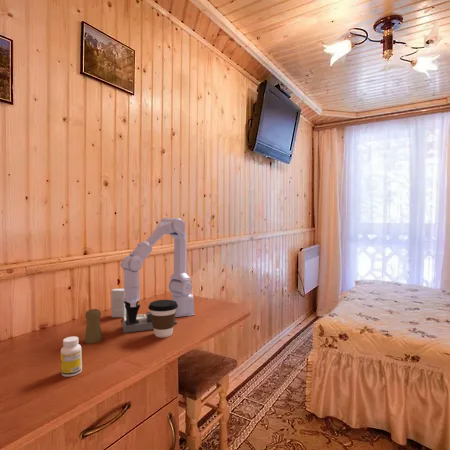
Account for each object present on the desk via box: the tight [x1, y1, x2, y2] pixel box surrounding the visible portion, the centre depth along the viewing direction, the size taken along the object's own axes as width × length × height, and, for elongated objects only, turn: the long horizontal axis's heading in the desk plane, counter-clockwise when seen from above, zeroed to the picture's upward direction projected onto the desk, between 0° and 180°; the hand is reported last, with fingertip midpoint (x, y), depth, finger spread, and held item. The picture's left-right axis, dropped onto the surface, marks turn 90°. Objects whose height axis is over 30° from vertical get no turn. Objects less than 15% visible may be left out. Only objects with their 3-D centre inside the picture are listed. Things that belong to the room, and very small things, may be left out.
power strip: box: [122, 311, 178, 334], centre depth 131 cm, size 22×7×6 cm, turn 110°
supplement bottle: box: [60, 335, 83, 378], centre depth 93 cm, size 5×5×10 cm
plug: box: [126, 310, 136, 325], centre depth 128 cm, size 4×4×7 cm
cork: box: [83, 308, 103, 344], centre depth 117 cm, size 6×6×11 cm
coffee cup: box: [148, 299, 178, 339], centre depth 122 cm, size 11×11×12 cm
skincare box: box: [110, 288, 126, 318], centre depth 145 cm, size 6×4×12 cm
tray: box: [123, 313, 146, 321], centre depth 139 cm, size 9×7×1 cm
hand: (132, 320), depth 129 cm, fingers open, 5 cm apart
